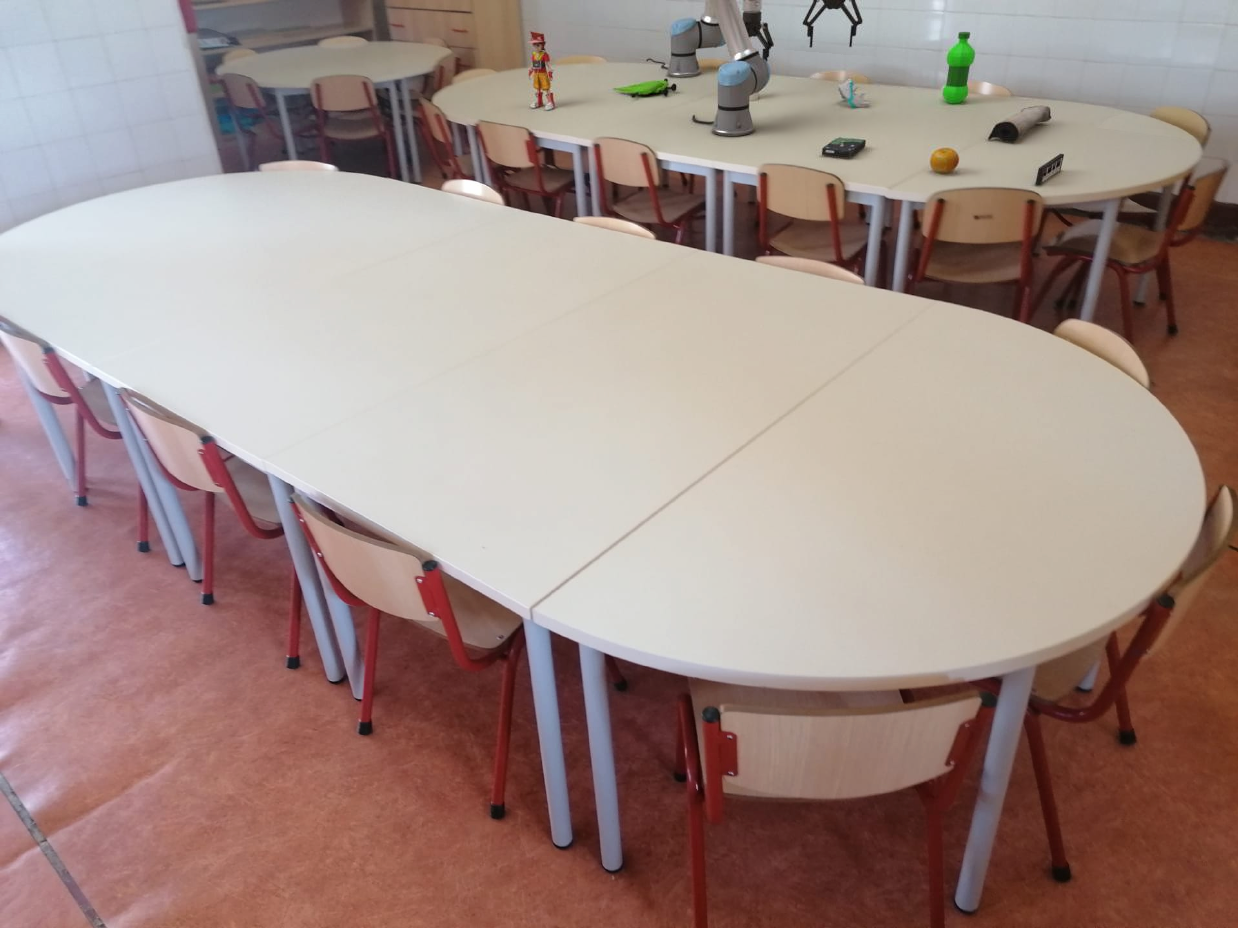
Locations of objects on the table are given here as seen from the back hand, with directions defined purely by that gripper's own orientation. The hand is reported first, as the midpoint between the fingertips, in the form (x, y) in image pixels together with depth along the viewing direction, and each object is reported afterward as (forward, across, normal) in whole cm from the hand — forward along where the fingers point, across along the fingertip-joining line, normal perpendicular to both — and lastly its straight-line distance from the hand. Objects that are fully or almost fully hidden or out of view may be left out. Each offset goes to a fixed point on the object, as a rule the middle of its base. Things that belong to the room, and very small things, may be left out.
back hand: (750, 68), depth 370 cm
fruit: (+13, -1, -120) cm, 121 cm away
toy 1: (+12, -79, +40) cm, 89 cm away
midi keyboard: (+13, +20, -142) cm, 145 cm away
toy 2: (+12, -32, +39) cm, 52 cm away
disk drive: (+13, -14, -86) cm, 88 cm away
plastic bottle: (+12, +61, -54) cm, 82 cm away
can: (+12, 0, 0) cm, 12 cm away
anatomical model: (+12, +28, -32) cm, 45 cm away
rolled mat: (+13, +50, -100) cm, 113 cm away
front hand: (-16, -4, -59) cm, 61 cm away
